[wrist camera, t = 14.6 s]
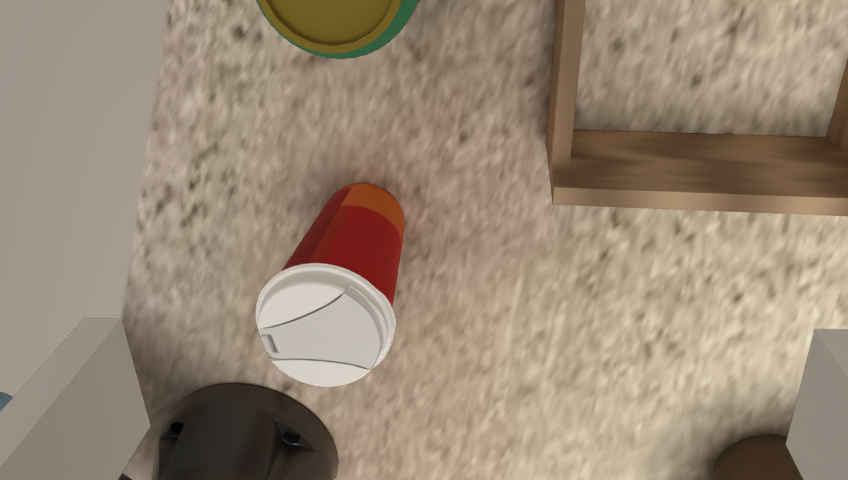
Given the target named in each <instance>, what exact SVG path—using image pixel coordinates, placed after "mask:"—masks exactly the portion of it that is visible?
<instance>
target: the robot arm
mask: <svg viewBox="0 0 848 480" xmlns="http://www.w3.org/2000/svg"><path fill="white" fill-rule="evenodd" d="M149 428H150V422H149V419H148V415H147V411H146V408H145V404H144V400H143V397H142V393H141V389H140V386H139V382H138V378H137V375H136V371H135V367H134V364H133V360H132V356H131V353H130V349H129V345H128V342H127V338H126V334H125V331H124V327H123V323H122V320H121V319H109V318H107V319H105V318H84V319H83V320H82V321H81V322H80V324H79V325H78V326H77V327H76V328H75V329H74V330H73V332H72V333H71V334H70V335H69V336H68V337H67V338H66V339H65V340H64V341H63V343H62V344H61V345H60V346H59V347H58V348H57V349H56V350H55V351H54V353H53V354H52V355H51V356H50V357H49V358H48V359H47V360H46V361H45V363H44V364H43V365H42V366H41V367H40V368H39V369H38V371H37V372H36V373H35V374H34V375H33V376H32V377H31V378H30V379H29V381H28V382H27V383H26V384H25V385H24V386H23V387H22V388H21V389H20V391H19V392H18V393H17V394H16V395H15V396H14V397H12V396H10V395H8V394H6V393H2V392H0V480H132V479H131V478H129V477H128V476H126V475H125V474H124V473H122V472H123V471H124V469H125V467H126V466H127V464H128V462H129V461H130V459H131V458H132V456H133V454H134V453H135V451H136V449H137V448H138V446H139V444H140V443H141V441H142V439H143V438H144V436H145V434H146V433H147V431H148V430H149ZM786 446H787V448H788V450H789V452H790V454H791V456H792V458H793V460H794V462H795V464H796V466H797V468H798V470H799V472H800V474H801V476H802V478H803V480H848V329H814V333H813V337H812V341H811V345H810V349H809V353H808V357H807V361H806V365H805V369H804V373H803V377H802V381H801V385H800V389H799V393H798V397H797V401H796V405H795V409H794V413H793V417H792V421H791V425H790V429H789V433H788V437H787V441H786ZM337 469H338V458H337V452H336V448H335V445H334V443H333V441H332V438H331V437H330V435H329V433H328V432H327V430H326V429H325V427H324V426H323V425H322V423H321V422H320V421H319V420H318V419H317V418H316V417H315V416H314V415H313V414H312V413H311V412H310V411H308V410H307V409H306V408H304V407H303V406H302V405H300V404H299V403H297V402H295V401H294V400H292V399H290V398H288V397H286V396H284V395H282V394H279V393H277V392H274V391H271V390H268V389H265V388H261V387H257V386H251V385H244V384H223V385H216V386H211V387H207V388H204V389H201V390H199V391H196V392H194V393H192V394H191V395H189V396H187V397H186V398H185V399H183V400H182V401H181V402H180V403H179V404H178V405H177V406H176V407H175V409H174V410H173V412H172V413H171V415H170V417H169V419H168V420H167V422H166V424H165V425H164V427H163V429H162V431H161V433H160V435H159V438H158V441H157V446H156V453H155V459H154V466H153V473H152V480H335V478H336V474H337Z"/></svg>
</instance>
